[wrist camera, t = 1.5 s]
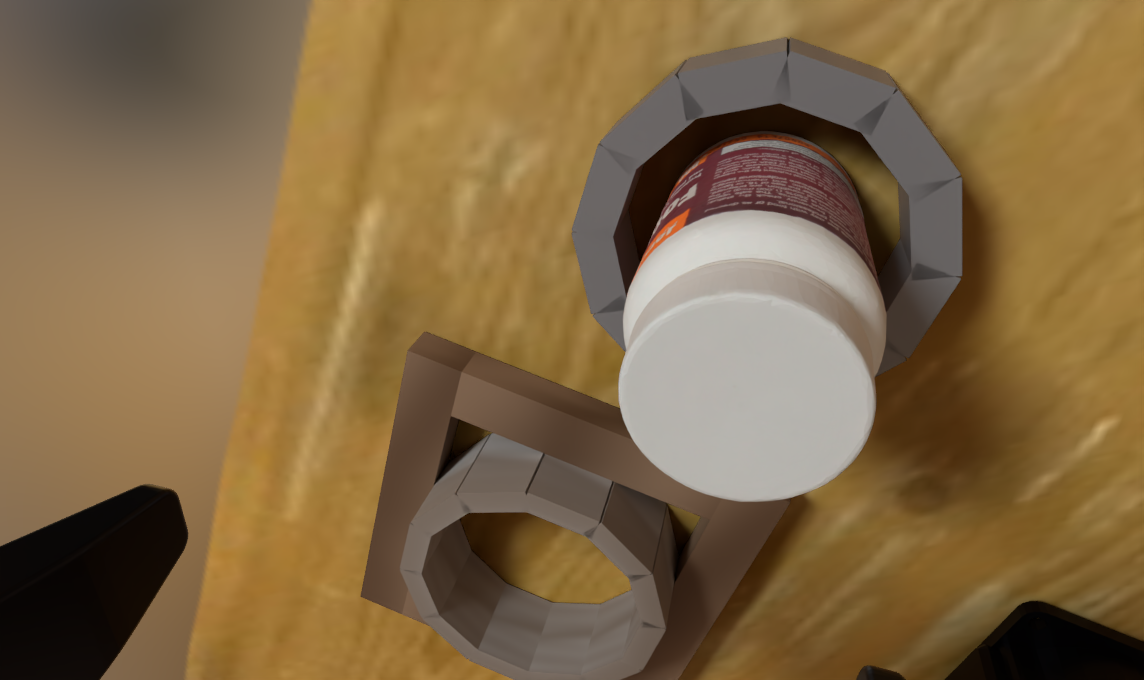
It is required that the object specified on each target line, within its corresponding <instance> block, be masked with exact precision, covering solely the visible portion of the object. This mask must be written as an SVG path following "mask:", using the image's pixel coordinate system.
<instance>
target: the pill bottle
mask: <svg viewBox="0 0 1144 680" xmlns="http://www.w3.org/2000/svg"><path fill="white" fill-rule="evenodd" d="M886 317H887V313H886V308H885V303H884V299H883V296H882V292H881V288H880V285H879V281H878V277H877V273H876V269H875V265H874V262H873V257H872V254H871V249H870V245H869V241H868V237H867V233H866V227H865V222H864V216H863V212H862V208H861V206H860V203H859V199H858V196H857V192H856V190H855V188H854V185H853V183H852V181H851V179H850V178H849V176H848V174H847V173H846V171H845V170H844V169H843V167H842V166H841V165H840V164H839V163H838V161H837V160H836V159H835V158H834V157H833V156H832V155H830V154H829V153H828V152H827V151H825V150H824V149H822V148H821V147H819V146H817V145H816V144H814V143H812V142H810V141H808V140H806V139H803V138H801V137H798V136H794V135H791V134H787V133H780V132H772V131H758V132H749V133H743V134H739V135H736V136H732V137H729V138H727V139H724V140H722V141H720V142H718V143H716V144H715V145H713V146H711V147H709V148H708V149H706V150H705V151H704V152H702V153H701V154H699V155H698V156H697V157H696V158H695V159H694V160H693V161H692V162H691V163H690V164H689V165H688V166H687V167H686V168H685V169H684V171H683V172H682V174H681V175H680V177H679V178H678V180H677V181H676V183H675V185H674V187H673V189H672V191H671V193H670V195H669V198H668V200H667V203H666V205H665V207H664V208H663V210H662V212H661V216H660V218H659V221H658V223H657V225H656V227H655V229H654V231H653V234H652V237H651V239H650V241H649V244H648V246H647V248H646V250H645V252H644V254H643V257H642V260H641V262H640V265H639V267H638V269H637V271H636V274H635V276H634V278H633V280H632V283H631V285H630V287H629V290H628V293H627V298H626V303H625V307H624V312H623V332H624V341H625V347H626V353H625V356H624V359H623V362H622V366H621V370H620V374H619V404H620V409H621V413H622V417H623V420H624V423H625V425H626V427H627V430H628V432H629V433H630V435H631V437H632V439H633V441H634V443H635V444H636V445H637V446H638V448H639V449H640V450H641V452H642V453H643V454H644V455H645V456H646V457H647V458H648V459H649V460H650V461H651V462H652V463H653V464H654V465H655V466H656V467H657V468H659V469H660V470H661V471H662V472H664V473H665V474H667V475H668V476H670V477H671V478H673V479H674V480H676V481H678V482H679V483H681V484H683V485H685V486H687V487H689V488H691V489H693V490H696V491H698V492H701V493H704V494H707V495H711V496H714V497H718V498H722V499H728V500H733V501H739V502H761V501H774V500H782V499H787V498H792V497H795V496H798V495H801V494H804V493H807V492H810V491H812V490H814V489H817V488H819V487H821V486H823V485H825V484H827V483H828V482H830V481H831V480H833V479H834V478H836V477H837V476H838V475H839V474H841V473H842V472H843V471H844V470H845V469H846V468H847V467H848V466H849V465H850V464H851V463H852V462H853V461H854V460H855V459H856V457H857V456H858V454H859V453H860V451H861V450H862V448H863V447H864V446H865V444H866V442H867V439H868V437H869V435H870V432H871V429H872V426H873V423H874V418H875V412H876V388H875V379H874V378H875V376H876V374H877V372H878V369H879V367H880V364H881V361H882V357H883V353H884V349H885V343H886Z"/></svg>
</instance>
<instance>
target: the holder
mask: <svg viewBox="0 0 1144 680" xmlns="http://www.w3.org/2000/svg"><path fill="white" fill-rule="evenodd" d="M779 103H781V104H784V105H786V106H789V107H792V108H795V109H797V110H800V111H803V112H806V113H809V114H811V115H814V116H817V117H820V118H823V119H825V120H828V121H831V122H834V123H837V124H839V125H842V126H845V127H848V128H850V129H853V130H856V131H859V132H861V133H862V135H863V136H864V137H865V139H866V140H867V141H868V143H869V144H870V145H871V147H872V148H873V149H874V150H875V152H876V153H877V154H878V156H879V157H880V158H881V160H882V161H883V162H884V164H885V165H886V166H887V168H888V169H889V170H890V171H891V173H892V174H893V175H894V177H895V178H896V179H897V181H898V194H899V219H900V240H899V242H898V243H897V245H896V247H895V248H894V250H893V252H892V254H891V255H890V257H889V259H888V260H887V262H886V264H885V266H884V267H883V269H882V271H881V272H880V274H879V276H878V281H879V285H880V288H881V292H882V296H883V299H884V303H885V308H886V313H887V317H886V343H885V349H884V353H883V357H882V361H881V364H880V367H879V369H878V372H877V374H876V376H878V375H880V374H882V373H884V372H886V371H888V370H890V369H891V368H893V367H895V366H897V365H899V364H901V363H903V362H904V361H906V357H907V358H909V357H910V356H911V354H912V353H913V351H914V350H915V348H916V347H917V345H918V344H919V342H920V341H921V339H922V338H923V336H924V335H925V333H926V332H927V330H928V329H929V327H930V326H931V324H932V323H933V321H934V320H935V318H936V316H937V315H938V313H939V312H940V310H941V309H942V307H943V306H944V304H945V303H946V301H947V300H948V298H949V297H950V295H951V294H952V292H953V291H954V289H955V288H956V286H957V285H958V283H959V282H960V280H961V277H960V276H962V177H961V176H960V175H961V174H960V172H959V171H958V169H957V168H956V166H955V165H954V163H953V162H952V160H951V159H950V157H949V156H948V154H947V153H946V151H945V150H944V149H943V147H942V146H941V144H940V143H939V142H938V140H937V139H936V138H935V136H934V135H933V134H932V132H931V131H930V129H929V128H928V127H927V125H926V124H925V123H924V121H923V120H922V119H921V117H920V116H919V115H918V113H917V112H916V110H915V109H914V108H913V106H912V105H911V104H910V102H909V101H908V100H907V98H906V97H905V95H904V94H903V93H902V91H901V90H900V89H899V87H898V86H897V85H896V83H895V82H894V80H893V79H892V78H891V76H890V75H889V74H888V73H886V71H885V70H882V69H879V68H876V67H873V66H870V65H867V64H865V63H862V62H859V61H856V60H853V59H850V58H848V57H845V56H842V55H839V54H836V53H833V52H830V51H828V50H825V49H822V48H819V47H816V46H813V45H811V44H808V43H805V42H802V41H799V40H796V39H793V38H791V37H790V40H789V42H788V43H787V37H786V38H781V39H776V40H772V41H767V42H762V43H757V44H753V45H748V46H743V47H739V48H734V49H729V50H725V51H720V52H715V53H710V54H706V55H701V56H696V57H692V58H689V59H688V60H685V61H684V62H683V63H682V64H681V65H680V66H678V67H677V68H676V69H675V70H674V71H673V72H672V73H671V74H670V75H668V76H667V77H666V78H665V79H664V80H663V81H662V82H661V83H660V84H659V85H657V86H656V87H655V88H654V89H653V90H652V91H651V92H650V93H649V94H647V95H646V96H645V97H644V98H643V99H642V100H641V101H640V102H639V103H637V104H636V105H635V106H634V107H633V108H632V109H631V110H630V111H629V112H627V113H626V114H625V115H624V116H623V117H622V118H621V119H620V120H619V121H617V123H616V124H615V125H614V126H613V127H612V128H611V130H610V131H609V132H608V133H607V134H606V135H605V137H604V138H603V139H602V140H601V141H600V143H599V144H598V146H597V150H596V153H595V156H594V159H593V163H592V166H591V169H590V172H589V176H588V179H587V182H586V185H585V189H584V192H583V195H582V198H581V201H580V205H579V208H578V211H577V214H576V218H575V221H574V224H573V227H572V231H573V232H572V237H573V241H574V245H575V249H576V254H577V258H578V262H579V266H580V270H581V274H582V278H583V282H584V286H585V290H586V294H587V298H588V302H589V306H590V311H591V314H594V315H593V317H594V318H595V319H596V320H597V322H598V323H599V324H600V325H601V326H602V327H603V328H604V329H605V330H606V331H607V332H608V333H609V335H610V336H611V337H612V338H613V339H614V340H615V341H616V342H617V343H618V344H619V345H620V346H621V348H622V349H623V350H624V351H625V352H626V347H625V341H624V332H623V312H624V307H625V303H626V298H627V293H628V290H629V287H630V285H631V283H632V280H633V278H634V276H635V274H636V271H637V269H638V267H639V265H640V262H639V258H638V253H637V248H636V243H635V238H634V233H633V229H632V224H631V219H630V214H629V206H630V203H631V200H632V198H633V195H634V192H635V189H636V186H637V183H638V180H639V178H640V175H641V172H642V169H643V166H644V163H645V162H646V161H647V160H648V159H649V158H650V157H652V156H653V155H654V154H655V153H656V152H657V151H659V150H660V149H661V148H662V147H663V146H665V145H666V144H667V143H668V142H669V141H671V140H672V139H673V138H674V137H675V136H676V135H678V134H679V133H680V132H681V131H682V130H684V129H685V128H686V127H687V126H688V125H690V124H691V123H692V122H693V121H694V120H695V119H698V118H703V117H709V116H714V115H719V114H725V113H730V112H736V111H741V110H746V109H752V108H757V107H763V106H768V105H773V104H779ZM876 376H875V377H876Z"/></svg>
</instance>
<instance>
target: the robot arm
mask: <svg viewBox="0 0 1144 680" xmlns="http://www.w3.org/2000/svg"><path fill="white" fill-rule="evenodd" d="M187 539H188V529H187V526H186V522H185V519H184V515H183V511H182V507H181V504H180V500H179V497H178V495H177V493H176V492H175V491H174V490H171V489H168V488H164V487H160V486H156V485H152V484H144V485H140V486H138V487H135V488H133V489H130V490H128V491H126V492H124V493H121V494H119V495H117V496H114V497H112V498H110V499H107V500H105V501H103V502H101V503H98V504H96V505H94V506H92V507H89V508H87V509H85V510H82V511H80V512H78V513H75V514H74V515H71V516H69V517H66V518H64V519H62V520H60V521H57V522H55V523H53V524H50V525H48V526H46V527H43V528H41V529H39V530H36V531H34V532H32V533H30V534H27V535H25V536H23V537H21V538H18V539H16V540H14V541H11V542H9V543H7V544H5V545H3V546H0V680H100V679H101V677H102V676H103V675H104V673H105V672H106V671H107V669H108V668H109V667H110V665H111V664H112V663H113V661H114V660H115V658H116V657H117V656H118V654H119V653H120V651H121V650H122V648H123V647H124V645H125V644H126V642H127V641H128V639H129V638H130V636H131V635H132V633H133V631H134V630H135V628H136V627H137V625H138V624H139V622H140V620H141V619H142V617H143V615H144V614H145V612H146V611H147V609H148V607H149V606H150V604H151V602H152V601H153V599H154V598H155V596H156V594H157V593H158V591H159V590H160V588H161V586H162V585H163V583H164V582H165V580H166V578H167V577H168V575H169V574H170V572H171V570H172V569H173V567H174V566H175V564H176V562H177V561H178V559H179V557H180V556H181V554H182V553H183V551H184V549H185V546H186V543H187ZM1032 618H1039V619H1032ZM856 680H906V679H905V678H904V677H903V676H902V675H900V674H899V673H897V672H894V671H890V670H886V669H882V668H879V667H875V666H870V665H867V666H864V667H863V668H862V669H861V671H860V672H859V675H858V677H857V679H856ZM945 680H1144V642H1141V641H1139V640H1136V639H1134V638H1131V637H1129V636H1126V635H1124V634H1121V633H1119V632H1116V631H1114V630H1111V629H1109V628H1106V627H1104V626H1101V625H1099V624H1096V623H1094V622H1091V621H1089V620H1086V619H1084V618H1081V617H1079V616H1076V615H1074V614H1071V613H1069V612H1066V611H1064V610H1061V609H1059V608H1056V607H1053V606H1051V605H1048V604H1046V603H1043V602H1039V601H1029V602H1025V603H1022V604H1021V605H1019V606H1018V607H1017V608H1016V609H1015V610H1014V611H1013V612H1012V613H1011V614H1010V615H1009V616H1008V617H1007V618H1006V619H1005V620H1004V621H1003V622H1002V623H1001V624H1000V625H999V626H998V627H997V628H996V629H995V630H994V631H993V632H992V633H991V634H990V635H989V636H988V637H987V638H986V639H985V640H984V641H983V642H982V643H981V644H980V645H979V646H978V647H977V648H976V649H975V650H974V651H973V652H972V653H971V654H970V655H969V656H968V657H967V658H966V659H965V660H964V661H963V662H962V663H961V664H960V665H959V666H958V667H957V668H956V669H955V670H954V671H953V672H952V673H951V674H950V675H949V676H948V677H947V678H946V679H945Z"/></svg>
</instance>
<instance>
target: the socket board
mask: <svg viewBox="0 0 1144 680" xmlns="http://www.w3.org/2000/svg"><path fill="white" fill-rule="evenodd" d="M459 419H460V420H462V421H465V422H467V423H470V424H472V425H475V426H477V427H480V428H482V429H485V430H487V431H490V432H492V433H493V434H491V435H490V434H489V435H488V436H486V437H485V438H483V439H482V440H480V441H479V442H478V443H476V444H475V445H473V446H472V447H470V448H469V449H467V450H466V451H465V452H463V453H462V454H460V455H459V456H457V457H456V458H454V459H453V460H452V461H450V462H449V463H448V461H449V457H450V453H451V449H452V445H453V441H454V437H455V433H456V429H457V425H458V421H459ZM665 502H666V503H668V504H671V505H673V506H676V507H678V508H681V509H683V510H686V511H688V512H691V513H693V514H696V515H698V516H701V518H700V520H699V522H698V523H697V525H696V527H695V529H694V531H693V533H692V534H691V536H690V538H689V540H688V542H687V543H686V545H685V547H684V549H683V551H682V553H681V554H680V556H679V555H678V551H677V546H676V542H675V537H674V533H673V528H672V524H671V520H670V515H669V511H668V506H666V503H665ZM789 504H790V498H787V499H782V500H774V501H761V502H739V501H733V500H728V499H722V498H718V497H714V496H711V495H707V494H704V493H701V492H698V491H696V490H693V489H691V488H689V487H687V486H685V485H683V484H681V483H679V482H678V481H676V480H674V479H673V478H671V477H670V476H668V475H667V474H665V473H664V472H662V471H661V470H660V469H659V468H657V467H656V466H655V465H654V464H653V463H652V462H651V461H650V460H649V459H648V458H647V457H646V456H645V455H644V454H643V453H642V452H641V450H640V449H639V448H638V446H637V445H636V444H635V443H634V441H633V439H632V437H631V435H630V433H629V432H628V430H627V427H626V425H625V423H624V420H623V417H622V413H621V409H619V408H617V407H614V406H612V405H609V404H607V403H604V402H602V401H599V400H596V399H594V398H591V397H589V396H586V395H584V394H581V393H579V392H576V391H574V390H571V389H569V388H566V387H564V386H561V385H559V384H556V383H553V382H551V381H548V380H546V379H543V378H541V377H538V376H536V375H533V374H531V373H528V372H526V371H523V370H521V369H518V368H515V367H513V366H510V365H508V364H505V363H503V362H500V361H498V360H495V359H493V358H490V357H488V356H485V355H483V354H480V353H478V352H475V351H472V350H470V349H467V348H465V347H462V346H460V345H457V344H455V343H452V342H450V341H447V340H445V339H442V338H440V337H437V336H435V335H432V334H429V333H427V332H424V333H423V334H422V335H421V336H420V337H419V338H418V339H417V341H416V342H415V343H414V344H413V345H412V346H411V347H410V348H409V350H408V352H407V357H406V362H405V367H404V372H403V378H402V383H401V388H400V393H399V399H398V404H397V409H396V414H395V419H394V425H393V430H392V435H391V440H390V446H389V451H388V456H387V461H386V466H385V472H384V477H383V482H382V487H381V493H380V498H379V503H378V508H377V514H376V519H375V524H374V529H373V534H372V540H371V545H370V550H369V555H368V561H367V566H366V571H365V576H364V581H363V587H362V592H361V597H363V598H365V599H367V600H370V601H372V602H374V603H377V604H379V605H381V606H384V607H386V608H389V609H391V610H393V611H396V612H398V613H400V614H403V615H405V616H407V617H410V618H412V619H414V620H417V621H419V622H421V623H424V624H426V625H429V626H431V627H432V628H433V629H434V630H435V631H436V632H437V633H438V634H440V635H441V636H442V637H443V638H444V639H445V640H446V641H447V642H449V643H450V644H451V645H452V646H453V647H454V648H455V649H456V650H457V651H459V652H460V653H461V654H462V655H463V656H464V657H465V658H466V659H469V658H470V659H469V661H472V662H474V663H476V664H479V665H481V666H483V667H486V668H488V669H490V670H493V671H495V672H497V673H500V674H502V675H504V676H507V677H509V678H511V679H514V680H678V679H679V677H680V676H681V674H682V673H683V671H684V669H685V668H686V666H687V665H688V663H689V662H690V660H691V658H692V657H693V655H694V654H695V652H696V651H697V649H698V647H699V646H700V644H701V643H702V641H703V640H704V638H705V636H706V635H707V633H708V632H709V630H710V628H711V627H712V625H713V624H714V622H715V621H716V619H717V617H718V616H719V614H720V613H721V611H722V610H723V608H724V606H725V605H726V603H727V602H728V600H729V599H730V597H731V595H732V594H733V592H734V591H735V589H736V587H737V586H738V584H739V583H740V581H741V580H742V578H743V576H744V575H745V573H746V572H747V570H748V569H749V567H750V565H751V564H752V562H753V561H754V559H755V558H756V556H757V554H758V553H759V551H760V550H761V548H762V546H763V545H764V543H765V542H766V540H767V539H768V537H769V535H770V534H771V532H772V531H773V529H774V528H775V526H776V524H777V523H778V521H779V520H780V518H781V516H782V515H783V513H784V512H785V510H786V509H787V507H788V505H789ZM495 512H527V513H530V514H532V515H535V516H537V517H539V518H542V519H544V520H547V521H549V522H552V523H554V524H557V525H559V526H561V527H564V528H566V529H569V530H571V531H574V532H576V533H579V534H581V535H583V536H586V537H587V538H588V539H589V540H590V541H591V542H592V543H593V544H594V545H595V546H596V547H597V548H598V549H599V550H600V551H601V552H602V553H604V554H605V555H606V556H607V557H608V558H609V559H610V560H611V561H612V562H613V563H614V564H615V565H616V566H617V567H618V568H619V569H620V570H621V571H622V572H623V573H624V574H625V575H626V576H627V577H628V578H629V581H630V584H631V588H632V590H630V591H628V592H626V593H624V594H622V595H620V596H617V597H615V598H613V599H611V600H609V601H606V602H604V603H602V604H576V603H552V602H550V601H547V600H545V599H543V598H540V597H538V596H535V595H533V594H531V593H528V592H526V591H523V590H521V589H519V588H516V587H514V586H511V585H509V584H507V583H505V582H504V581H503V580H502V579H501V578H500V577H499V576H498V575H497V574H496V573H495V572H494V571H493V570H492V569H490V568H489V567H488V566H487V565H486V564H485V563H484V562H483V561H482V560H481V559H480V558H479V557H478V556H477V555H476V554H474V553H473V552H472V551H471V548H470V545H469V543H468V540H467V538H466V535H465V532H464V530H463V527H462V525H461V522H460V518H461V517H463V516H464V515H466V514H468V513H495Z"/></svg>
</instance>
